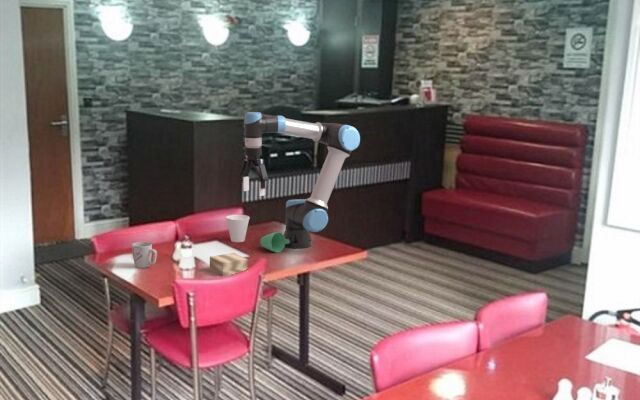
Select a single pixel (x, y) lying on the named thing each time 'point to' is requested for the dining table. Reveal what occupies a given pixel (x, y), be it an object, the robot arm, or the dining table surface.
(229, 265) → the beech block
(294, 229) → the robot arm
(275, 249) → the mug
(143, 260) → the mug
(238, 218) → the cup
